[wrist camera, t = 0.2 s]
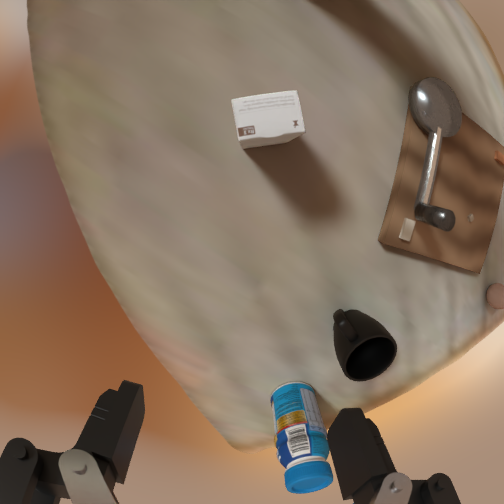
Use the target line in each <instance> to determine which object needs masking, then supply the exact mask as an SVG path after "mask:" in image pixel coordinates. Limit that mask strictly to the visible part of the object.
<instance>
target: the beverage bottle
mask: <svg viewBox="0 0 504 504" xmlns="http://www.w3.org/2000/svg"><path fill="white" fill-rule="evenodd" d="M271 406H272V411H273V419H274V428H275V437H274V442H275V446H276V448H277V449H278V450H277V458H278V460H279V461H280V463H281V464H282V465H283V466H284V467H285V468H286V470H285V475H284V476H285V485H286V488H287V490H288V491H289V492H291V493H299V494H301V493H310V492H314V491H318V490H321V489H323V488H325V487H327V486H329V485H330V484H331V483H332V481H333V474H332V470H331V467H330V464H329V463H328V462H327V461H326V459H327V457H328V454H329V451H330V448H329V445H328V441H327V430H326V428H325V426H324V423H323V420H322V417H321V414H320V410H319V407H318V404H317V400H316V397H315V393H314V390H313V388H312V387H311V386H310V385H308V384H306V383H303V382H290V383H286V384H283V385H281V386H280V387H278V388H277V389H276V390H275V391H274V392H273V393H272V395H271Z"/></svg>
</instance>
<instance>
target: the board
mask: <svg viewBox="0 0 504 504" xmlns="http://www.w3.org/2000/svg"><path fill="white" fill-rule="evenodd" d="M411 87H412V86H411ZM411 87H410V89H411ZM428 137H429V135H427V134H426V133H424V132H423V131H422V130H421V129H420V128H419V126H418V125H417V124H416V122H415V120H414V119H413V117H412V114H411V111H410V108H409V104H408V111H407V118H406V124H405V130H404V136H403V141H402V146H401V152H400V157H399V161H398V166H397V170H396V175H395V179H394V183H393V187H392V191H391V195H390V199H389V203H388V207H387V210H386V214H385V218H384V221H383V224H382V228H381V231H380V234H379V238H378V241H380V242H382V243H383V244H386V245H390V246H393V247H397V248H400V249H403V250H407V251H410V252H413V253H417V254H420V255H423V256H427V257H430V258H433V259H436V260H439V261H442V262H446V263H449V264H452V265H455V266H458V267H461V268H464V269H467V270H470V271H473V272H476V273H479V274H480V272H481V269H482V266H483V263H484V260H485V257H486V254H487V251H488V248H489V244H490V241H491V237H492V234H493V230H494V226H495V222H496V218H497V214H498V209H499V204H500V199H501V194H502V188H503V182H504V147H503V146H502V145H501V144H500V143H499V142H498V141H497V140H495V139H494V138H493V137H492V136H491V135H490V134H488V133H487V132H486V131H485V130H484V129H482V128H481V127H480V126H479V125H477V124H476V123H475V122H474V121H472V120H471V119H470V118H468V117H467V116H466V115H464V114H463V113H462V123H461V127H460V129H459V131H458V132H457V133H456V134H455V135H454V136H451V137H442V143H441V150H440V156H439V161H438V167H437V172H436V177H435V181H434V186H433V190H432V194H431V199H430V203H429V204H430V205H434V206H438V207H441V208H445V209H448V210H451V211H453V212H454V214H455V218H456V221H455V225H454V227H453V229H452V230H451V231H448V232H446V231H444V230H441V229H438V228H436V227H433V226H431V225H428V224H425V223H423V222H420V221H418V220H417V219H416V218H415V215H414V209H413V208H414V204H415V200H416V196H417V192H418V188H419V184H420V179H421V175H422V170H423V165H424V160H425V155H426V149H427V143H428Z"/></svg>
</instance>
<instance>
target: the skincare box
mask: <svg viewBox="0 0 504 504" xmlns="http://www.w3.org/2000/svg"><path fill="white" fill-rule="evenodd" d="M231 102H232V107H233V113H234V118H235V124H236V130H237V136H238V141H239V142H240V145H241V148H242V149H246V148H252V147H259V146H266V145H274V144H281V143H287V142H289V141H291V140H293V139H294V138H296V137H298V136H300V135H302V134H304V133H305V132H306V131H305V127H304V122H303V116H302V111H301V106H300V101H299V96H298V92H297V91H296V90H294V91H285V92H276V93H268V94H261V95H254V96H248V97H242V98H237V99H232V100H231Z"/></svg>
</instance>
